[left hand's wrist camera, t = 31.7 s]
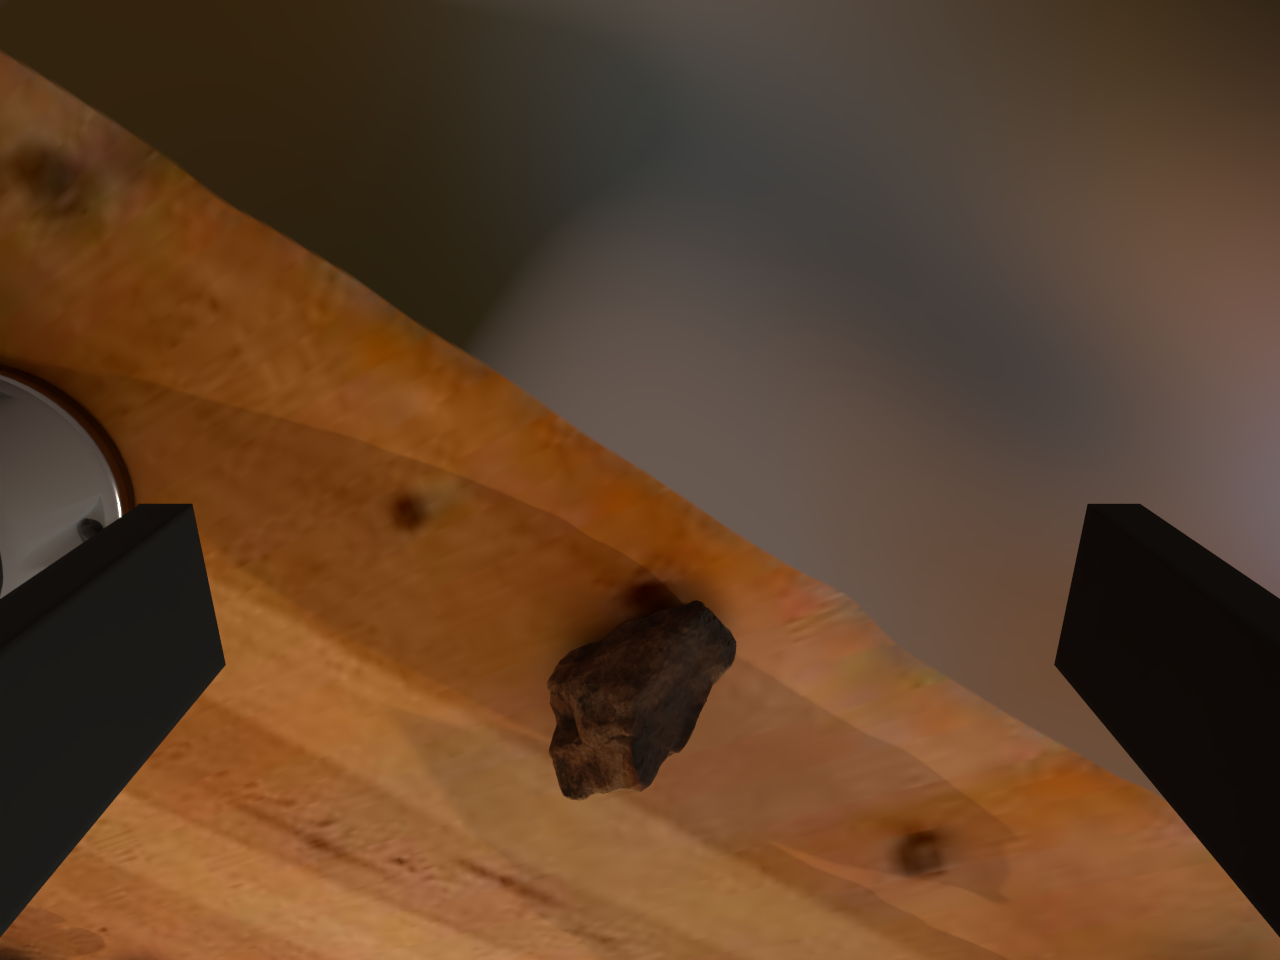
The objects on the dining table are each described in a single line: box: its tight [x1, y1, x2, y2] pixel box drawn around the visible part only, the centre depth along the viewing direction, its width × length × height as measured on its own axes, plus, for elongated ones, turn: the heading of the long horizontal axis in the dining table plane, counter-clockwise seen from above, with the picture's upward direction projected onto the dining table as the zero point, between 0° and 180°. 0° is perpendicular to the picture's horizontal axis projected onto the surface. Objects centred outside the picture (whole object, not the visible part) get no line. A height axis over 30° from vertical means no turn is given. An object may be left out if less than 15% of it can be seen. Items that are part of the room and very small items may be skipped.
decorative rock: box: [547, 600, 736, 800], centre depth 49 cm, size 12×6×11 cm, turn 117°
